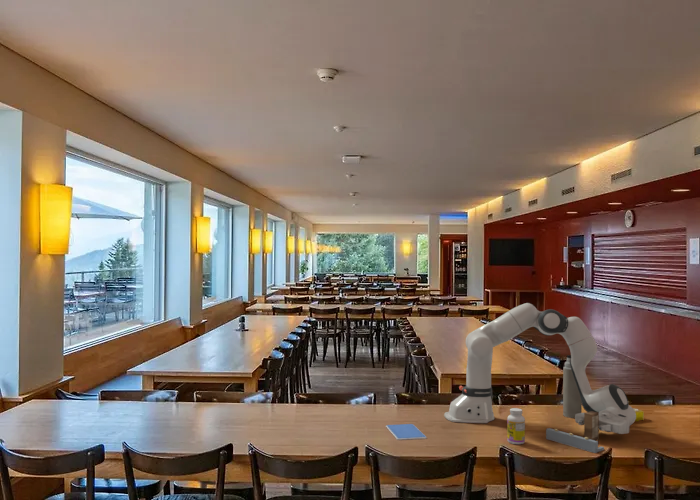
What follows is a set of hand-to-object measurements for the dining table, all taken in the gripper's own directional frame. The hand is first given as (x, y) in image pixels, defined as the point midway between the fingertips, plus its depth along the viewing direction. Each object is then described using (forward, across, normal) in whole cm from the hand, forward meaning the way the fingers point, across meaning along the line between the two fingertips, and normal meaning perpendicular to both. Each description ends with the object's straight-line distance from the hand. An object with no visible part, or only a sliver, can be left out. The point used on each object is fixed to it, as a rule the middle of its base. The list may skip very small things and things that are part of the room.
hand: (590, 425), depth 226 cm
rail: (+9, -1, +6) cm, 11 cm away
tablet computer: (+54, -50, +7) cm, 74 cm away
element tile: (-44, -12, +7) cm, 46 cm away
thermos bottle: (-28, -26, +6) cm, 39 cm away
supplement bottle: (+26, -16, +6) cm, 31 cm away
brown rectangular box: (-1, 0, +6) cm, 6 cm away
